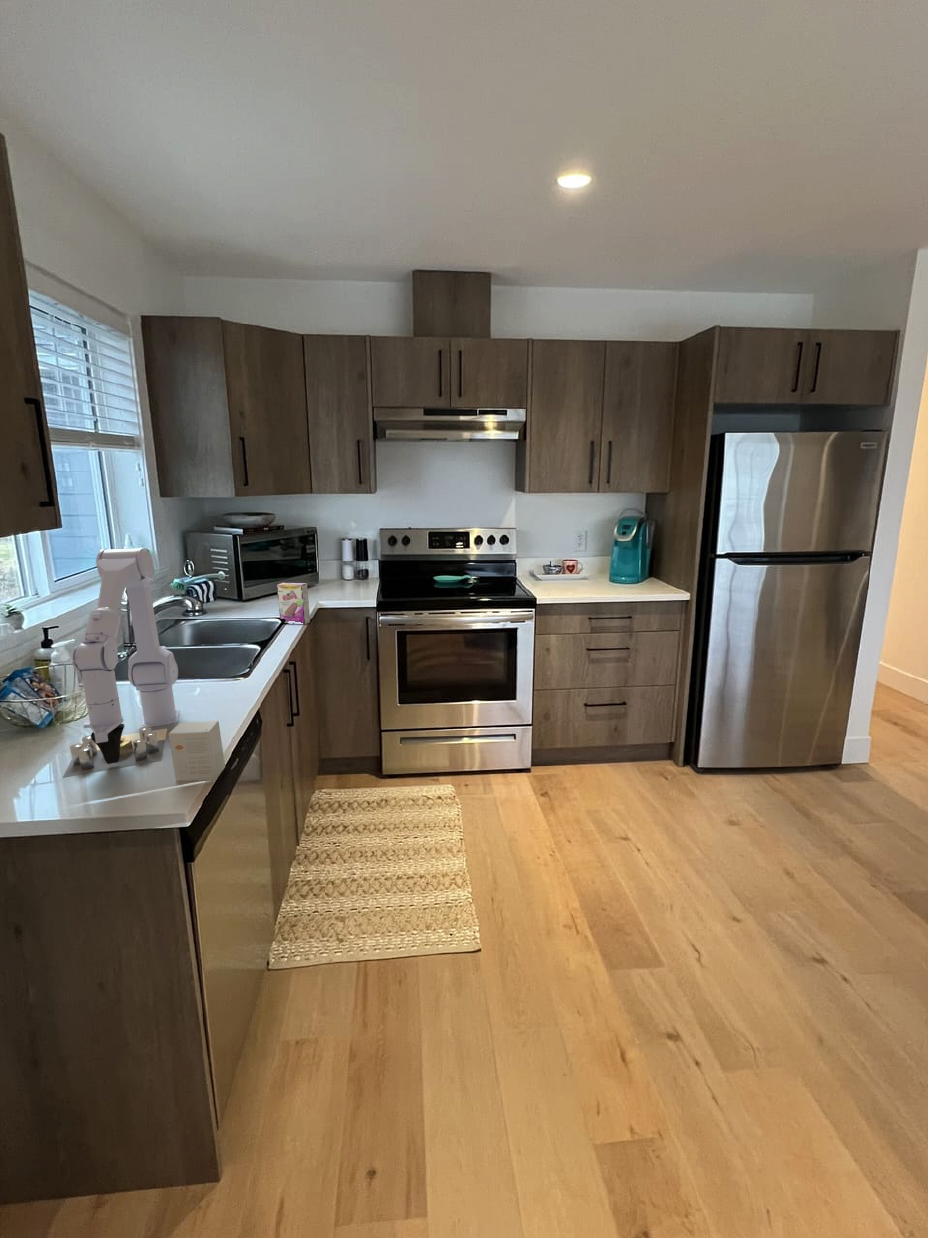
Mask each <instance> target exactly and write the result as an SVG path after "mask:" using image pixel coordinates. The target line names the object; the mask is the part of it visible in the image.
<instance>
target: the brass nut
mask: <svg viewBox="0 0 928 1238" xmlns="http://www.w3.org/2000/svg"><path fill="white" fill-rule="evenodd" d="M131 752H133V746H132V740H130V739H128V738H126V737H125V738H121V742H120V758H121V757H125V756H127V755H128V754H130V753H131Z"/></svg>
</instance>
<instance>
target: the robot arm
mask: <svg viewBox="0 0 928 1238" xmlns="http://www.w3.org/2000/svg"><path fill="white" fill-rule="evenodd" d="M95 559H96V560H95V561H96V562H95V564H96V568H97V572H98V576H99V577H100V579H101V582H100V587H99V594H98V595H99V596H98V603H97V608H96V609H94V610H92V611H91V612H90V613H89V616H88V619H87V623H86V627H85V630H84V634H83V638H82V641H81V643H79V645H77V646H75V647H74V649H73V651H72V661H71V662H72V665H73V669H74V670H75V671H76V673H77V677H78V679H79V681H81V682H82V686H83V691H84V697H85V703H86V708H87V713H88V719H89V720H88V721H84V723H83V725H82V726H83V728H84V729H87V728H88V729H90V730H91V731H92V733H91V734H90V735H91V739H92V740H93V741H94V742H95V743H96V744H97V746H98V747H99V748H100V750H101V752H102V754H103V757H104V759H105V761H106V763H107V764H111V763H117V762H118V761H119V758H120V742H121V735H122V734H123V732H124V729H125V724H124V723H123V722H124V716H123V715H122V710H121V703H120V697H119V692H118V691H119V690H118V683H117V679H116V674H115V668H116V666H117V665H118V664H117V663H118V660H119V654H118V647H119V646H118V643H117V637H118V633H119V628H120V624H121V619H122V618H121V616H120V615H119V614H118V613H117V611H118V609H119V607H120V604H121V600H122V598H123V595H124V592H125V590H126V594H127V600H128V607H129V612H130V617H131V623H132V628H133V629H132V630H133V635H134V642H135V647H136V651H135V652H134V653H133V654H131V655H130V657H129V659H128V660H127V661H128V671H127V676H128V677H127V678H128V681H129V683H130V684H131V686H132V687H134V688H135V689H136V691H138V692H139V696H140V702H141V710H142V716H143V720H142V722H141V726H140V728H142V727H151V728H152V727H157V726H165V725H172V724H177V723H178V721H179V715H180V709H179V708H176V704H175V698H174V692H173V691H174V690H173V689H174V688H173V685H174V684H175V683H176V682H177V680H178V678H179V677H178V676H179V668H178V667H179V666H178V664H177V662H176V658H175V656H174V653H173V652H172V651H170V650H169V649H166V648H164V647H162V645H161V646H160V642H159V641H160V640H159V634H158V628H157V623H156V615H155V609H154V604H153V597H152V591H151V584H150V582H151V581H153V580H155V579H156V578H155V577H156V576H155V572H156V571H155V567H154V566H155V565H154V561H153V555H152V554H151V553H150V551H148V550H147V548H146V547H139V548H124V549H123V548H122V549H121V548H120V549H119V548H118V549H105V548H103V549H100V550H99V552H98V553H97V555H96V558H95Z"/></svg>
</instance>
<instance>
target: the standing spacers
mask: <svg viewBox="0 0 928 1238" xmlns="http://www.w3.org/2000/svg"><path fill="white" fill-rule="evenodd" d="M151 731H152V727H142V728H141V727H140V728H139V729H138V733H139V735H140V739H137V740H134V741H133V742H132V743H133V749H134V755H135V760H136V761H142V760H145V759H147V758H148V755H147V753H148V754H152V753H156V752H158V751H159V745H158V739H157V733H156V732H151ZM81 742H83V744H82V743H81ZM81 742H80V743H74V744H71V745H70V746H69V749H70V750H69V751H70V755H71V760H72V761H73V765H74V766H80V765H81V769H82V770H89V769H92V768H93V767H94V766H95V765H94V760H93V756H95V755H97V754H98V752H97V746H96V743H95V742H94V741H93V740H92V739H91V734H89V735H85V736H83V737H82V738H81Z"/></svg>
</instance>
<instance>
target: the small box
mask: <svg viewBox="0 0 928 1238" xmlns="http://www.w3.org/2000/svg"><path fill="white" fill-rule="evenodd" d="M168 740H169V745H170V746H169V747H170V751H171V752H170V753H171V758H172V759H171V760H172V763H173V764H172V765H173V771H174V776H175V781H176V782H186V781H187V782H188V781H201V782H211V781H214V782H215V781H217V780H218V778H219V776H220V775H221V774H222V772H223V771H224V769H225V768H226V763H225V757H224V749H223V742H222V736H221V729H220V722H219V721H218V720H210V721H191V722H189V721H188V722H187V721H186V722H179V723H178V724H177V725H176V726H175V727H174V728H173V729H172V730H171V731H169V732H168Z"/></svg>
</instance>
